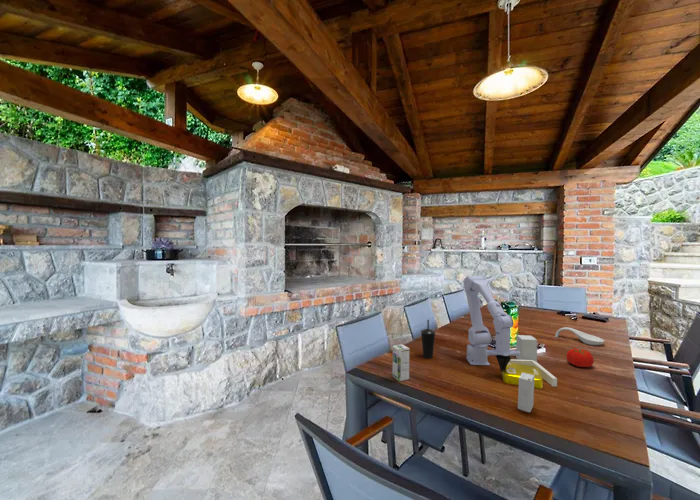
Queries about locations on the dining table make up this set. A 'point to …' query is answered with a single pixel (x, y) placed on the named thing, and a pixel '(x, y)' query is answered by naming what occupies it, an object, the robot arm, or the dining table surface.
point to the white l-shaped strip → (544, 373)
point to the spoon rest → (583, 336)
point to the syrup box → (400, 362)
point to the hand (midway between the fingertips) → (502, 371)
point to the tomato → (580, 357)
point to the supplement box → (527, 347)
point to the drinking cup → (428, 341)
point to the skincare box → (526, 392)
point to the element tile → (516, 370)
